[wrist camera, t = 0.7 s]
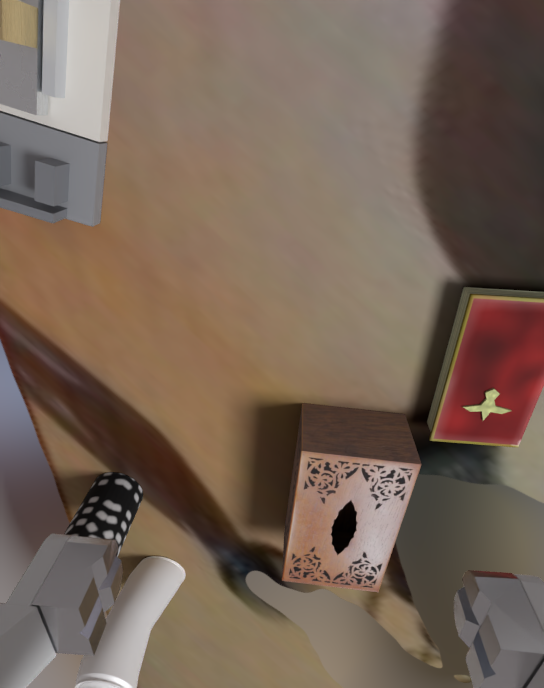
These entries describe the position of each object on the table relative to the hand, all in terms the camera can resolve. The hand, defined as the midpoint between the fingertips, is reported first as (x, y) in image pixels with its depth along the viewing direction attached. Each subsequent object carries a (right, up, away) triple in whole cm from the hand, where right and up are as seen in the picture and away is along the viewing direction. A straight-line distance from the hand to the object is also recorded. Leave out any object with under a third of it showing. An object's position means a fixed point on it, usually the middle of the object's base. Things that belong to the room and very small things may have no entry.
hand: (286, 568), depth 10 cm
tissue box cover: (+10, -15, +56) cm, 59 cm away
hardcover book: (+28, +3, +45) cm, 53 cm away
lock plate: (-24, +31, +34) cm, 52 cm away
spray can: (-22, -37, +70) cm, 82 cm away
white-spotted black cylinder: (-26, -19, +61) cm, 69 cm away
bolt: (-23, +33, +30) cm, 50 cm away
